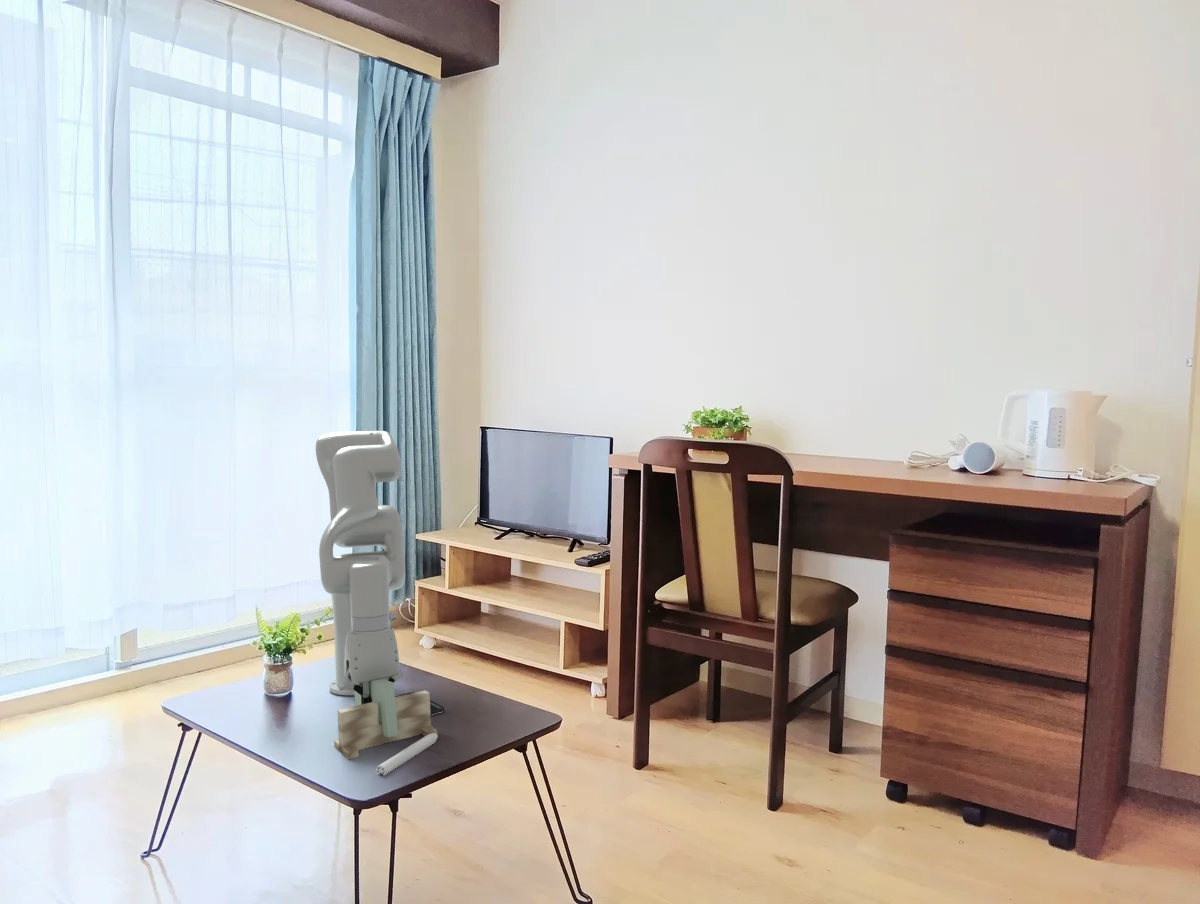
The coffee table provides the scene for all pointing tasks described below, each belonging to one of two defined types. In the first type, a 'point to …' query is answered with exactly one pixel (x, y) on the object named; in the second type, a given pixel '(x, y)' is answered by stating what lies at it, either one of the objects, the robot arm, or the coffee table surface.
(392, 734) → the mint green slab
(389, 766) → the marker
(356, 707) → the slotted wooden stand
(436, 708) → the phone
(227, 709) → the coffee table surface
